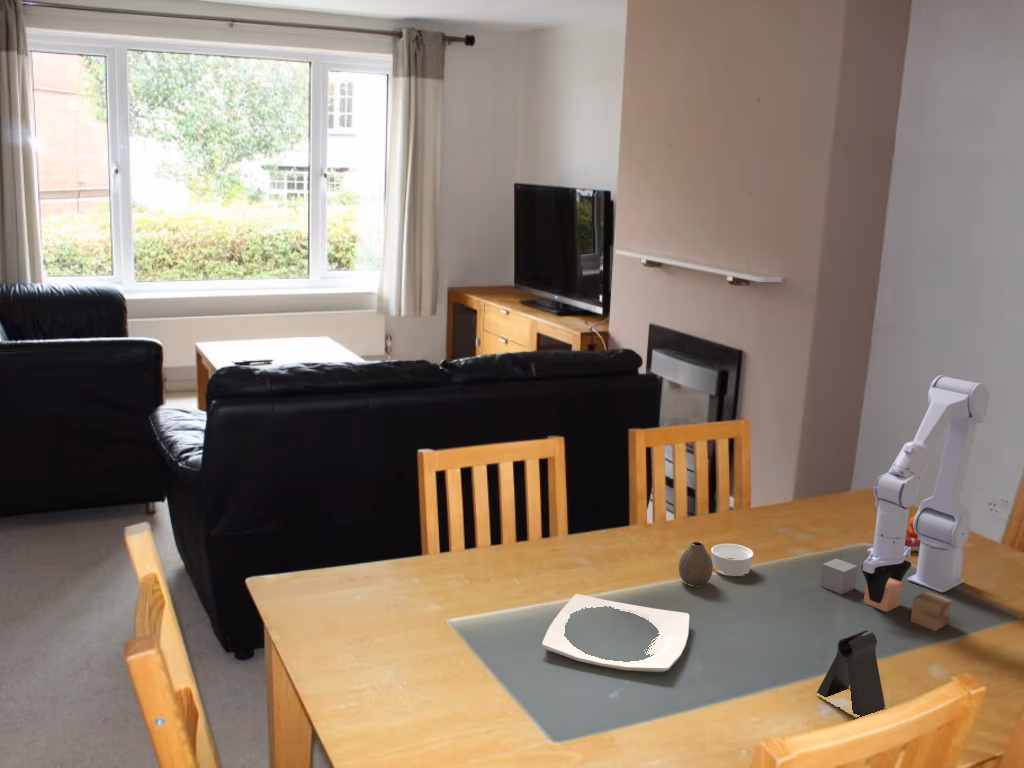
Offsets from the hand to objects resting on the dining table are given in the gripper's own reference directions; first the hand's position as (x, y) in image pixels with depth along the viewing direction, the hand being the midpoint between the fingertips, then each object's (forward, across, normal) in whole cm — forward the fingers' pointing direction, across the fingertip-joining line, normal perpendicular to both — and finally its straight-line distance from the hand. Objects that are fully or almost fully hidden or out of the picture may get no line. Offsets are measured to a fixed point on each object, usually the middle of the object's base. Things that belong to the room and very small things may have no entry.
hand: (882, 597), depth 198 cm
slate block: (+2, 0, -10) cm, 10 cm away
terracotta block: (+1, 0, 0) cm, 1 cm away
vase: (+2, +23, -29) cm, 37 cm away
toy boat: (+2, -35, -12) cm, 37 cm away
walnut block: (+2, 0, +10) cm, 10 cm away
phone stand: (+2, +39, +17) cm, 43 cm away
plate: (+2, +54, -21) cm, 58 cm away
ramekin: (+2, +11, -29) cm, 31 cm away
